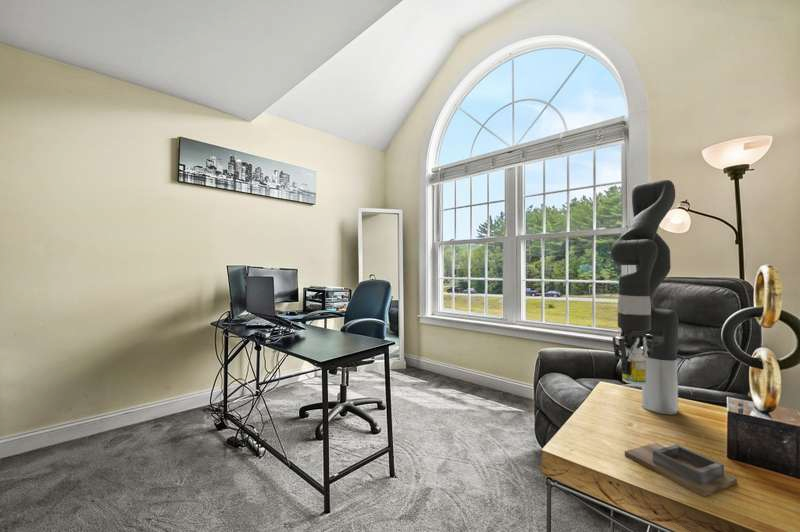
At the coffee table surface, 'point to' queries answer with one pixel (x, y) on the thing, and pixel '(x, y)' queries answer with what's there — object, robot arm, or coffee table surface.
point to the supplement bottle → (636, 369)
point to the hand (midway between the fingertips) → (633, 373)
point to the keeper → (684, 467)
